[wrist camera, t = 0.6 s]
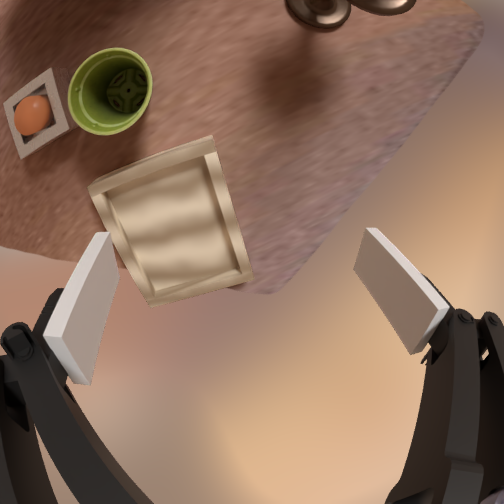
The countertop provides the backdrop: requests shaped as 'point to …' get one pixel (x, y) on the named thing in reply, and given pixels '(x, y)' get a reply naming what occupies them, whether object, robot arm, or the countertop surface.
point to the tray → (174, 223)
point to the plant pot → (109, 91)
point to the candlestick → (343, 10)
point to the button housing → (56, 89)
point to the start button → (33, 114)
